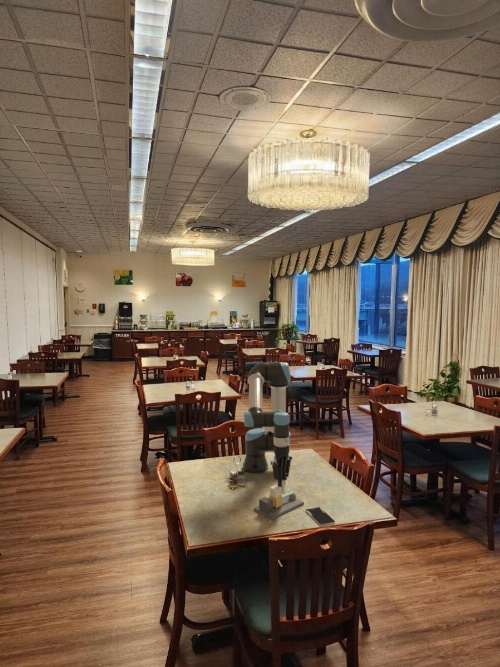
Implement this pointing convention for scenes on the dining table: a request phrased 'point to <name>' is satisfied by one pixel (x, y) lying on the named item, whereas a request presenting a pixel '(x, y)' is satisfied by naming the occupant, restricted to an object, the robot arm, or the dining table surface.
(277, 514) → the comb base
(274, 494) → the sleeve
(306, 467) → the dining table surface
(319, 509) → the smartphone
